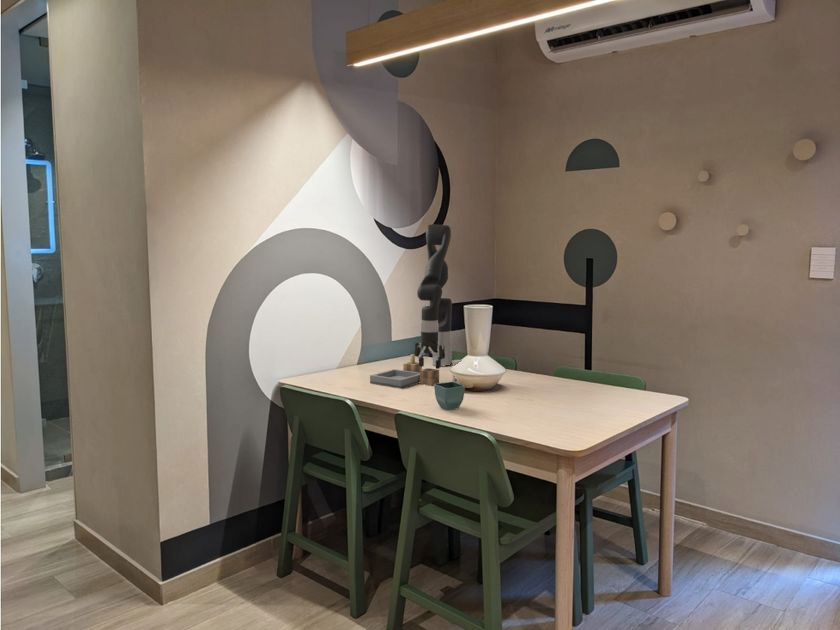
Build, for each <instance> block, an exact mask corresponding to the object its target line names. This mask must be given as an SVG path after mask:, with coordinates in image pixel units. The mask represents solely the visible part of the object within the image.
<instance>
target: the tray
mask: <svg viewBox="0 0 840 630" xmlns="http://www.w3.org/2000/svg"><path fill="white" fill-rule="evenodd" d="M419 382H420V373H418V372H411V371H404V370H402V369H395V368H393V369H389V370H386V371H385V370H384V371H382V372H378V373H374V374H370V376H369V383H370V384H373V385H378V384H379V385H378V386H385V387H391V388H397V389H403V387H404V388H407V387H411V386H414V385H416V383H417V384H420V383H419ZM413 384H414V385H413ZM406 386H407V387H406Z"/></svg>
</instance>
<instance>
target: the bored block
mask: <svg viewBox="0 0 840 630" xmlns="http://www.w3.org/2000/svg"><path fill="white" fill-rule="evenodd" d="M437 383H440V369H436V368H424V369H422V370H420V383H419V385H423V384H425V386H430V385H432V386H434V384H437Z"/></svg>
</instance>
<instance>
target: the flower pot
mask: <svg viewBox="0 0 840 630" xmlns="http://www.w3.org/2000/svg"><path fill="white" fill-rule="evenodd" d="M433 388H434V396H435V400H436V402H437V404H438V406H439V407H440V408H442V409H444V410H446V411H450V410H451V411H452V410H457V409H456V408H458V409H459V408H460V406H461V405H462V403H463V402H464V401H463V400H464V397H465V391H466V389H465V386H464V385H461V384H459V383H456V382H453V381H448V382H439V383H437V384H434V385H433Z"/></svg>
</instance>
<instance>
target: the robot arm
mask: <svg viewBox="0 0 840 630" xmlns="http://www.w3.org/2000/svg"><path fill="white" fill-rule="evenodd" d="M451 237H452V230H451V227H450V226H449V225H446V224H435V223H434V224H428V225H427V227H426V229H425V240H426V241H425V242H426V247H427V248H426V250H427V257H428V258H427V259H428V261H427V263H426V266H425V270H424V271H425V272H424V276H423V278H422V280H421V282H420V283H419V285H418V287H417V293H416V294H417V298H418V299H419V300H420V301H424V302H425V301H429V305H425V306H423V307H422V308H421V323H420V341H421V342H419V341H418V342H415V344H414V355H415V357H417V358H418V363H419V365H420V367H424V366H425V355H427V354H429V355H432V365H433V366H434V365H436V366H435V369H438V370H440V368H441V367H444V366H443V365H449V364H451V363H452V364H453V345H452V313H453V312H452V311H453V302H452V298H448V297H447V298H446V297H445V298H443V297H442V296H443V288H444V286H445V285H446V283H447V282H448V280H449V266H448V264H447V262H446V260H445V259H446V255H447V252H448V249H449V246H450V242H451ZM436 246H440V247H439V249H437V247H436ZM439 318H444V319H443V320H442V321H440V322H439ZM452 364H451V365H452Z"/></svg>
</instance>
